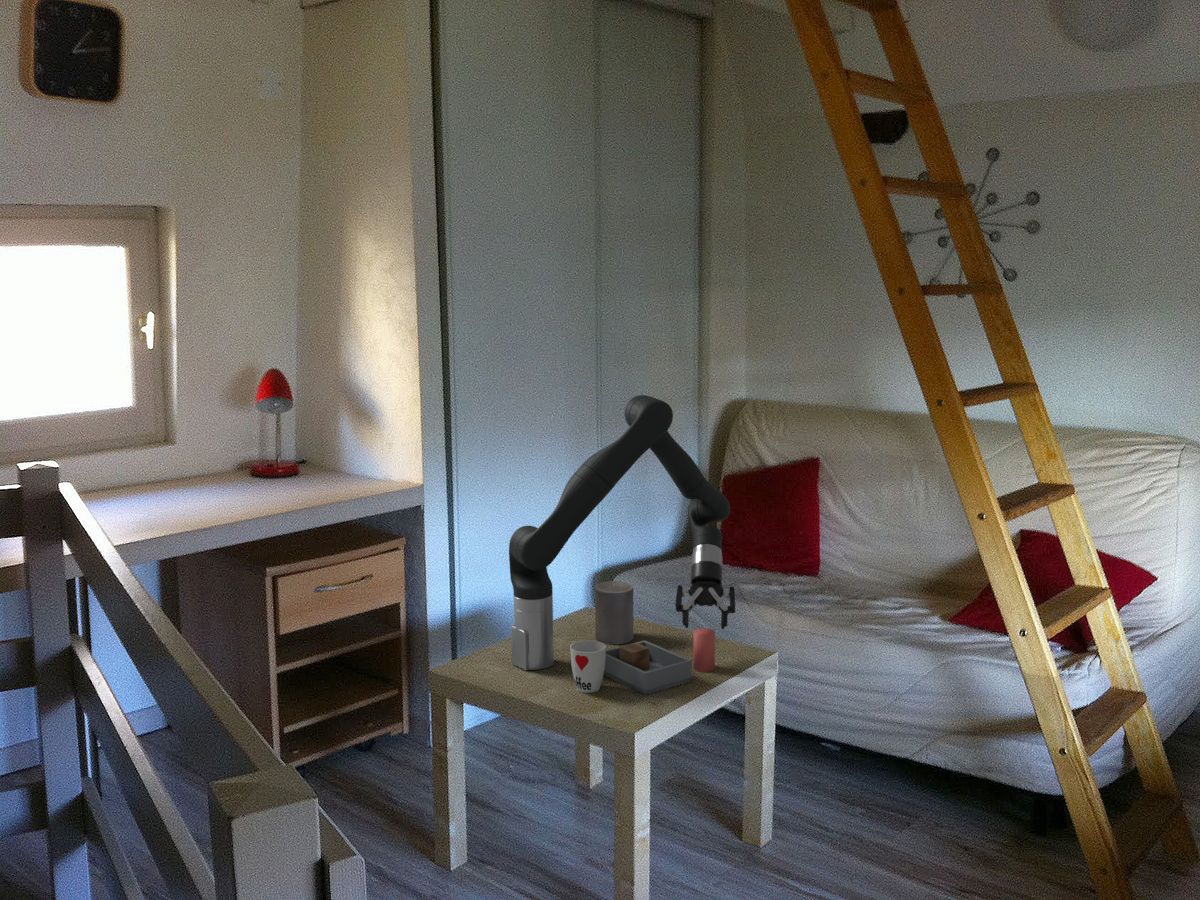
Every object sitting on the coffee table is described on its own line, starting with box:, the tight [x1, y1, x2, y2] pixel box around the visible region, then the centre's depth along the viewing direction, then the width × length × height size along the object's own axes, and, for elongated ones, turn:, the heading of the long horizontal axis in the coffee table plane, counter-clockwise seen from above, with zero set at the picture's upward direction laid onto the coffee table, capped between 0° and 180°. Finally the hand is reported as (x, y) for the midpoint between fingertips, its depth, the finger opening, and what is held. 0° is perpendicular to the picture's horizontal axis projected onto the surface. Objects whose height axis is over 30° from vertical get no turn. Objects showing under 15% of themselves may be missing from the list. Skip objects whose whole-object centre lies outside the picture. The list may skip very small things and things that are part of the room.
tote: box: [603, 640, 693, 696], centre depth 285 cm, size 14×18×5 cm
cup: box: [569, 640, 607, 694], centre depth 278 cm, size 8×8×10 cm
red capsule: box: [692, 627, 716, 673], centre depth 290 cm, size 5×5×9 cm
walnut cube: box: [618, 642, 650, 671], centre depth 288 cm, size 5×5×5 cm
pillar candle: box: [594, 580, 634, 645], centre depth 311 cm, size 10×10×15 cm
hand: (704, 627), depth 292 cm, fingers open, 8 cm apart
